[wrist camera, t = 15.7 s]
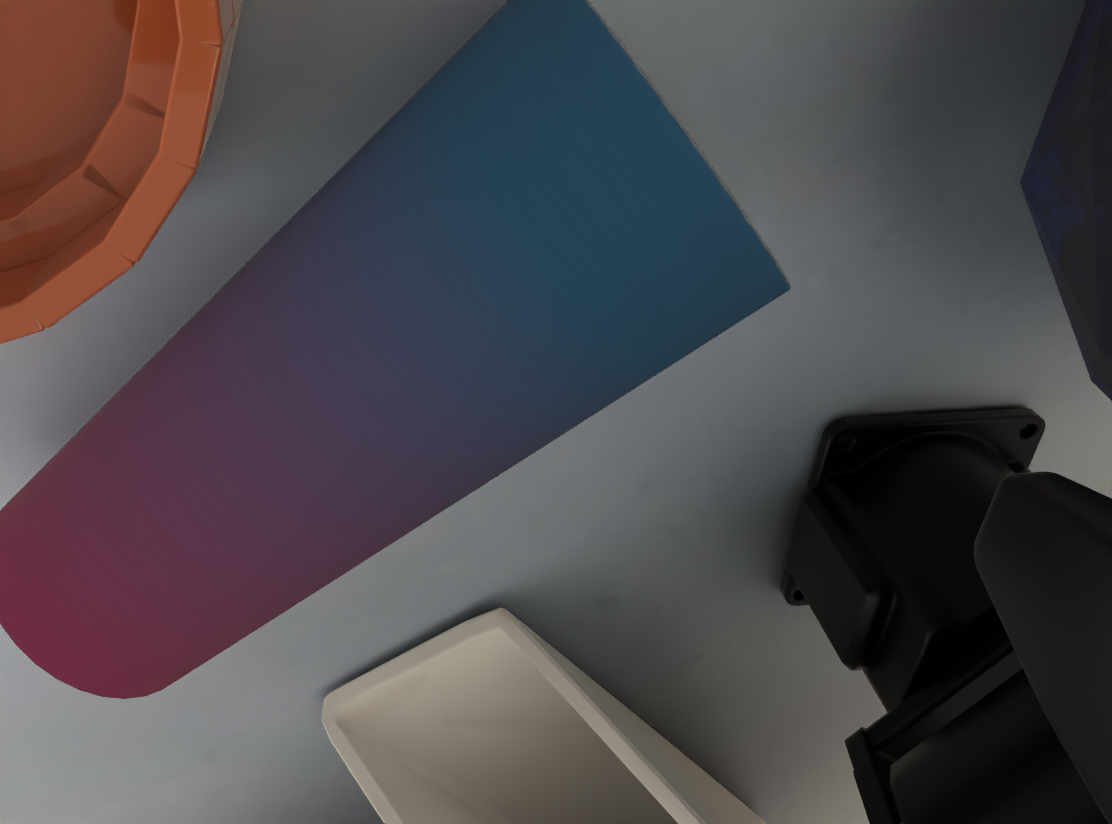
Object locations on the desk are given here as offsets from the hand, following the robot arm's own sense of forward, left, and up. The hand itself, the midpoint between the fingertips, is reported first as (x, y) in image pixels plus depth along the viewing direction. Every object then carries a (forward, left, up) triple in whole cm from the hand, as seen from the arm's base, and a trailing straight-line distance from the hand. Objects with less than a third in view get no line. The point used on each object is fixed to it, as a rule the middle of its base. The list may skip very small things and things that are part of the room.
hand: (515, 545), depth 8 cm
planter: (-7, +22, -13) cm, 26 cm away
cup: (+7, +9, -10) cm, 15 cm away
